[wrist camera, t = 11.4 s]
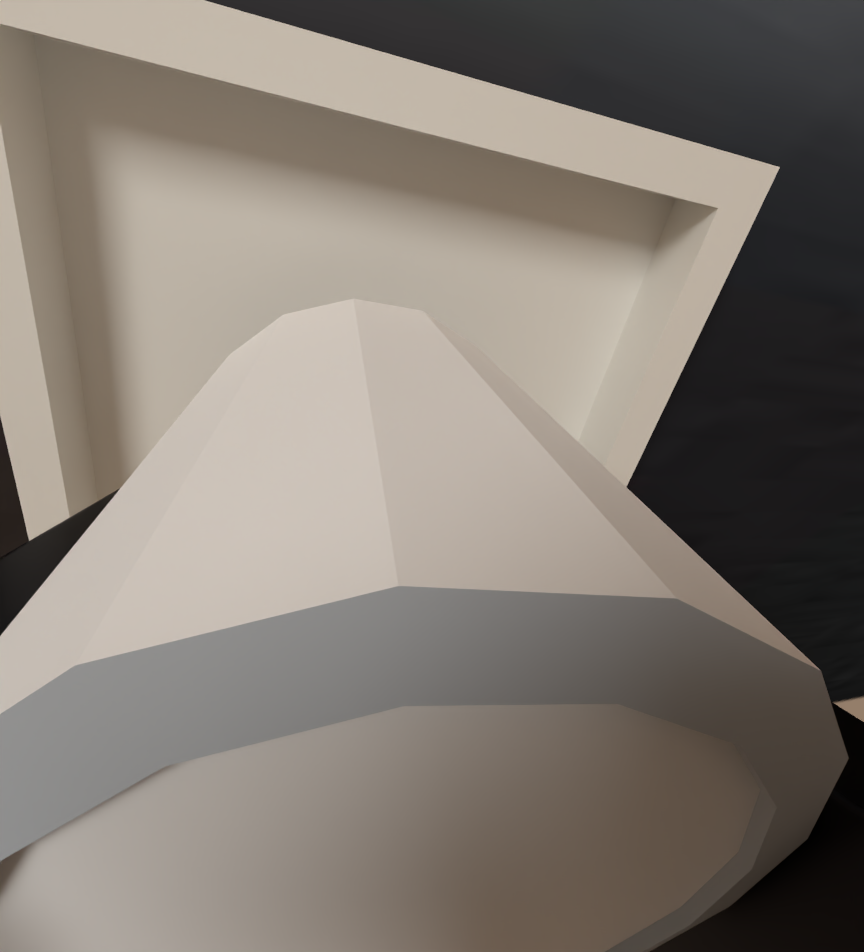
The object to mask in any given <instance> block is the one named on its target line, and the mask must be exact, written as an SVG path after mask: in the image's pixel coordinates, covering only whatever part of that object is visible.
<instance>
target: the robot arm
mask: <svg viewBox="0 0 864 952" xmlns="http://www.w3.org/2000/svg"><path fill="white" fill-rule="evenodd" d="M119 490H120V488H119V489H117V490H116V491H114V492H112V493H111V494H109V495H107V496H105V497H104V498H102V499H100V500H99V501H97V502H95V503H93V504H92V505H90V506H88V507H87V508H85V509H83V510H81V511H80V512H78V513H76V514H75V515H73V516H71V517H69V518H68V519H66V520H64V521H63V522H61V523H59V524H57V525H56V526H54V527H52V528H51V529H49V530H47V531H45V532H44V533H42V534H40V535H39V536H37V537H35V538H33V539H32V540H30V541H28V542H27V543H25V544H23V545H21V546H20V547H18V548H16V549H15V550H13V551H11V552H9V553H8V554H6V555H4V556H3V557H1V558H0V636H1V634H2V633H3V632H4V631H5V630H6V628H7V627H8V626H9V625H10V623H11V622H12V621H13V620H14V618H15V617H16V616H17V615H18V614H19V612H20V611H21V610H22V609H23V607H24V606H25V605H26V604H27V603H28V601H29V600H30V599H31V598H32V596H33V595H34V594H35V593H36V591H37V590H38V589H39V588H40V587H41V585H42V584H43V583H44V582H45V580H46V579H47V578H48V577H49V575H50V574H51V573H52V572H53V571H54V569H55V568H56V567H57V566H58V564H59V563H60V562H61V561H62V560H63V558H64V557H65V556H66V555H67V553H68V552H69V551H70V550H71V548H72V547H73V546H74V545H75V544H76V542H77V541H78V540H79V539H80V537H81V536H82V535H83V534H84V533H85V531H86V530H87V529H88V528H89V526H90V525H91V524H92V523H93V521H94V520H95V519H96V518H97V517H98V515H99V514H100V513H101V512H102V510H103V509H104V508H105V507H106V506H107V504H108V503H109V502H110V501H111V499H112V498H113V497H114V496H115V494H116V493H117V492H118V491H119ZM831 704H832V707H833V711H834V714H835V717H836V720H837V723H838V726H839V729H840V732H841V736H842V739H843V742H844V745H845V748H846V751H847V754H848V758H849V759H848V761H847V763H846V765H845V767H844V769H843V771H842V773H841V775H840V777H839V779H838V780H837V782H836V784H835V786H834V788H833V790H832V792H831V794H830V796H829V798H828V800H827V802H826V804H825V806H824V808H823V810H822V812H821V814H820V816H819V818H818V819H817V821H816V823H815V825H814V827H813V829H812V831H811V833H810V835H809V837H808V839H807V840H806V841H805V842H803V843H802V844H801V845H800V846H799V847H798V848H797V849H795V850H794V851H793V852H792V853H791V854H790V855H788V856H787V857H786V858H785V859H784V860H783V861H782V862H780V863H779V864H778V865H777V866H776V867H775V868H774V869H772V870H771V871H770V872H769V873H768V874H767V875H765V876H764V877H763V878H762V879H761V880H760V881H759V882H757V883H756V884H755V885H754V886H753V887H752V888H751V889H749V890H748V891H747V892H746V893H745V894H744V895H742V896H741V897H740V898H739V899H738V900H737V901H736V902H734V903H733V904H732V905H731V906H730V907H728V908H726V909H724V910H723V911H721V912H719V913H717V914H715V915H714V916H712V917H710V918H708V919H706V920H705V921H703V922H701V923H699V924H698V925H696V926H694V927H692V928H690V929H689V930H687V931H685V932H683V933H682V934H680V935H678V936H676V937H674V938H673V939H671V940H669V941H667V942H666V943H664V944H662V945H660V946H658V947H657V948H655V949H653V950H651V951H650V952H864V722H863V721H861V720H859V719H858V718H856V717H855V716H853V715H851V714H850V713H848V712H846V711H845V710H843V709H842V708H840V707H838V706H837V705H835V704H834V703H832V702H831Z"/></svg>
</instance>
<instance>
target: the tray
mask: <svg viewBox="0 0 864 952" xmlns="http://www.w3.org/2000/svg"><path fill="white" fill-rule="evenodd" d="M779 168H780V167H777V166H774V165H770V164H767V163H763V162H760V161H756V160H753V159H750V158H746V157H743V156H739V155H736V154H732V153H729V152H725V151H722V150H718V149H715V148H712V147H708V146H705V145H701V144H698V143H694V142H691V141H687V140H684V139H681V138H677V137H674V136H670V135H667V134H663V133H660V132H656V131H653V130H649V129H646V128H643V127H639V126H636V125H632V124H629V123H625V122H622V121H618V120H615V119H612V118H608V117H605V116H601V115H598V114H594V113H591V112H587V111H584V110H580V109H577V108H574V107H570V106H567V105H563V104H560V103H556V102H553V101H549V100H546V99H543V98H539V97H536V96H532V95H529V94H525V93H522V92H518V91H515V90H512V89H508V88H505V87H501V86H498V85H494V84H491V83H487V82H484V81H480V80H477V79H474V78H470V77H467V76H463V75H460V74H456V73H453V72H449V71H446V70H443V69H439V68H436V67H432V66H429V65H425V64H422V63H418V62H415V61H411V60H408V59H405V58H401V57H398V56H394V55H391V54H387V53H384V52H380V51H377V50H374V49H370V48H367V47H363V46H360V45H356V44H353V43H349V42H346V41H342V40H339V39H336V38H332V37H329V36H325V35H322V34H318V33H315V32H311V31H308V30H305V29H301V28H298V27H294V26H291V25H287V24H284V23H280V22H277V21H273V20H270V19H267V18H263V17H260V16H256V15H253V14H249V13H246V12H242V11H239V10H236V9H232V8H229V7H225V6H222V5H218V4H215V3H211V2H208V1H204V0H0V416H1V420H2V425H3V429H4V433H5V438H6V442H7V446H8V451H9V455H10V459H11V464H12V468H13V472H14V477H15V481H16V485H17V490H18V494H19V498H20V503H21V507H22V511H23V516H24V520H25V524H26V529H27V533H28V537H29V541H30V540H32V539H33V538H35V537H37V536H39V535H40V534H42V533H44V532H45V531H47V530H49V529H51V528H52V527H54V526H56V525H57V524H59V523H61V522H63V521H64V520H66V519H68V518H69V517H71V516H73V515H75V514H76V513H78V512H80V511H81V510H83V509H85V508H87V507H88V506H90V505H92V504H93V503H95V502H97V501H99V500H100V499H102V498H104V497H105V496H107V495H109V494H111V493H112V492H114V491H116V490H117V489H119V488H121V487H122V486H123V485H124V483H125V482H126V481H127V480H128V478H129V477H130V476H131V475H132V474H133V472H134V471H135V470H136V469H137V467H138V466H139V465H140V464H141V463H142V461H143V460H144V459H145V458H146V456H147V455H148V454H149V453H150V451H151V450H152V449H153V448H154V447H155V445H156V444H157V443H158V442H159V440H160V439H161V438H162V437H163V436H164V434H165V433H166V432H167V431H168V429H169V428H170V427H171V426H172V424H173V423H174V422H175V421H176V420H177V418H178V417H179V416H180V415H181V413H182V412H183V411H184V410H185V409H186V407H187V406H188V405H189V404H190V402H191V401H192V400H193V399H194V397H195V396H196V395H197V394H198V393H199V391H200V390H201V389H202V388H203V386H204V385H205V384H206V383H207V381H208V380H209V379H210V378H211V377H212V375H213V374H214V373H215V372H216V370H217V369H218V368H219V367H220V366H221V364H222V363H223V362H224V361H225V359H226V358H227V357H228V356H229V355H230V354H231V353H232V352H234V351H235V350H236V349H238V348H239V347H240V346H242V345H243V344H245V343H246V342H247V341H249V340H250V339H251V338H253V337H254V336H255V335H257V334H258V333H259V332H261V331H262V330H263V329H265V328H266V327H267V326H269V325H270V324H271V323H273V322H274V321H275V320H277V319H278V318H279V317H281V316H282V315H283V314H288V313H292V312H296V311H301V310H305V309H310V308H314V307H318V306H323V305H327V304H331V303H336V302H340V301H345V300H349V299H359V300H365V301H370V302H376V303H382V304H387V305H393V306H399V307H405V308H410V309H416V310H422V311H424V312H425V313H427V314H428V315H430V316H431V317H433V318H434V319H436V320H437V321H439V322H441V323H442V324H444V325H445V326H447V327H448V328H450V329H451V330H453V331H454V332H456V333H457V334H459V335H460V336H462V337H463V338H465V339H466V340H468V341H470V342H471V343H473V344H474V345H476V346H477V347H478V348H479V349H480V350H481V351H482V352H483V353H484V354H485V355H486V356H487V357H489V358H490V359H491V360H492V361H493V362H494V363H495V364H496V365H497V366H498V367H499V368H500V369H501V370H502V371H503V372H504V373H505V374H507V375H508V376H509V377H510V378H511V379H512V380H513V381H514V382H515V383H516V384H517V385H518V386H519V387H520V388H521V389H522V390H524V391H525V392H526V393H527V394H528V395H529V396H530V397H531V398H532V399H533V400H534V401H535V402H536V403H537V404H538V405H539V406H540V407H542V408H543V409H544V410H545V411H546V412H547V413H548V414H549V415H550V416H551V417H552V418H553V419H554V420H555V421H556V422H557V423H559V424H560V425H561V426H562V427H563V428H564V429H565V430H566V431H567V432H568V433H569V434H570V435H571V436H572V437H573V438H574V439H575V440H577V441H578V442H579V443H580V444H581V445H582V446H583V447H584V448H585V449H586V450H587V451H588V452H589V453H590V454H591V455H592V456H594V457H595V458H596V459H597V460H598V461H599V462H600V463H601V464H602V465H603V466H604V467H605V468H606V469H607V470H608V471H609V472H610V473H612V474H613V475H614V476H615V477H616V478H617V479H618V480H619V481H620V482H621V483H622V484H623V485H624V486H625V487H627V485H628V483H629V480H630V478H631V476H632V474H633V472H634V470H635V468H636V466H637V464H638V462H639V460H640V458H641V455H642V453H643V451H644V449H645V447H646V445H647V443H648V441H649V439H650V437H651V435H652V433H653V430H654V428H655V426H656V424H657V422H658V420H659V418H660V416H661V414H662V412H663V410H664V407H665V405H666V403H667V401H668V399H669V397H670V395H671V393H672V391H673V389H674V387H675V385H676V382H677V380H678V378H679V376H680V374H681V372H682V370H683V368H684V366H685V364H686V362H687V360H688V357H689V355H690V353H691V351H692V349H693V347H694V345H695V343H696V341H697V339H698V337H699V335H700V332H701V330H702V328H703V326H704V324H705V322H706V320H707V318H708V316H709V314H710V312H711V310H712V307H713V305H714V303H715V301H716V299H717V297H718V295H719V293H720V291H721V289H722V287H723V285H724V282H725V280H726V278H727V276H728V274H729V272H730V270H731V268H732V266H733V264H734V262H735V260H736V257H737V255H738V253H739V251H740V249H741V247H742V245H743V243H744V241H745V239H746V237H747V235H748V232H749V230H750V228H751V226H752V224H753V222H754V220H755V218H756V216H757V214H758V212H759V210H760V207H761V205H762V203H763V201H764V199H765V197H766V195H767V193H768V191H769V189H770V187H771V185H772V182H773V180H774V178H775V176H776V174H777V172H778V170H779Z"/></svg>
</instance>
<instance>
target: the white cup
mask: <svg viewBox="0 0 864 952" xmlns="http://www.w3.org/2000/svg"><path fill="white" fill-rule="evenodd" d="M848 759H849V758H848V754H847V751H846V748H845V745H844V742H843V739H842V736H841V732H840V729H839V726H838V723H837V720H836V717H835V714H834V711H833V707H832V704H831V701H830V698H829V695H828V692H827V689H826V686H825V682H824V679H823V676H822V673H821V671H820V670H819V669H818V668H817V667H816V666H815V665H814V664H813V663H812V662H811V661H810V660H809V659H808V658H807V657H806V656H805V655H804V654H802V653H801V652H800V651H799V650H798V649H797V648H796V647H795V646H794V645H793V644H792V643H791V642H790V641H789V640H788V639H787V638H785V637H784V636H783V635H782V634H781V633H780V632H779V631H778V630H777V629H776V628H775V627H774V626H773V625H772V624H771V623H770V622H769V621H767V620H766V619H765V618H764V617H763V616H762V615H761V614H760V613H759V612H758V611H757V610H756V609H755V608H754V607H753V606H752V605H750V604H749V603H748V602H747V601H746V600H745V599H744V598H743V597H742V596H741V595H740V594H739V593H738V592H737V591H736V590H735V589H734V588H732V587H731V586H730V585H729V584H728V583H727V582H726V581H725V580H724V579H723V578H722V577H721V576H720V575H719V574H718V573H717V572H715V571H714V570H713V569H712V568H711V567H710V566H709V565H708V564H707V563H706V562H705V561H704V560H703V559H702V558H701V557H700V556H699V555H697V554H696V553H695V552H694V551H693V550H692V549H691V548H690V547H689V546H688V545H687V544H686V543H685V542H684V541H683V540H682V539H680V538H679V537H678V536H677V535H676V534H675V533H674V532H673V531H672V530H671V529H670V528H669V527H668V526H667V525H666V524H665V523H664V522H662V521H661V520H660V519H659V518H658V517H657V516H656V515H655V514H654V513H653V512H652V511H651V510H650V509H649V508H648V507H647V506H645V505H644V504H643V503H642V502H641V501H640V500H639V499H638V498H637V497H636V496H635V495H634V494H633V493H632V492H631V491H630V490H629V489H627V488H626V487H625V486H624V485H623V484H622V483H621V482H620V481H619V480H618V479H617V478H616V477H615V476H614V475H613V474H612V473H610V472H609V471H608V470H607V469H606V468H605V467H604V466H603V465H602V464H601V463H600V462H599V461H598V460H597V459H596V458H595V457H594V456H592V455H591V454H590V453H589V452H588V451H587V450H586V449H585V448H584V447H583V446H582V445H581V444H580V443H579V442H578V441H577V440H575V439H574V438H573V437H572V436H571V435H570V434H569V433H568V432H567V431H566V430H565V429H564V428H563V427H562V426H561V425H560V424H559V423H557V422H556V421H555V420H554V419H553V418H552V417H551V416H550V415H549V414H548V413H547V412H546V411H545V410H544V409H543V408H542V407H540V406H539V405H538V404H537V403H536V402H535V401H534V400H533V399H532V398H531V397H530V396H529V395H528V394H527V393H526V392H525V391H524V390H522V389H521V388H520V387H519V386H518V385H517V384H516V383H515V382H514V381H513V380H512V379H511V378H510V377H509V376H508V375H507V374H505V373H504V372H503V371H502V370H501V369H500V368H499V367H498V366H497V365H496V364H495V363H494V362H493V361H492V360H491V359H490V358H489V357H487V356H486V355H485V354H484V353H483V352H482V351H481V350H480V349H479V348H478V347H477V346H476V345H474V344H473V343H471V342H470V341H468V340H466V339H465V338H463V337H462V336H460V335H459V334H457V333H456V332H454V331H453V330H451V329H450V328H448V327H447V326H445V325H444V324H442V323H441V322H439V321H437V320H436V319H434V318H433V317H431V316H430V315H428V314H427V313H425V312H424V311H422V310H416V309H410V308H405V307H399V306H393V305H387V304H382V303H376V302H370V301H365V300H359V299H349V300H345V301H340V302H336V303H331V304H327V305H323V306H318V307H314V308H310V309H305V310H301V311H296V312H292V313H288V314H283V315H282V316H281V317H279V318H278V319H277V320H275V321H274V322H273V323H271V324H270V325H269V326H267V327H266V328H265V329H263V330H262V331H261V332H259V333H258V334H257V335H255V336H254V337H253V338H251V339H250V340H249V341H247V342H246V343H245V344H243V345H242V346H240V347H239V348H238V349H236V350H235V351H234V352H232V353H231V354H230V355H229V356H228V357H227V358H226V359H225V361H224V362H223V363H222V364H221V366H220V367H219V368H218V369H217V370H216V372H215V373H214V374H213V375H212V377H211V378H210V379H209V380H208V381H207V383H206V384H205V385H204V386H203V388H202V389H201V390H200V391H199V393H198V394H197V395H196V396H195V397H194V399H193V400H192V401H191V402H190V404H189V405H188V406H187V407H186V409H185V410H184V411H183V412H182V413H181V415H180V416H179V417H178V418H177V420H176V421H175V422H174V423H173V424H172V426H171V427H170V428H169V429H168V431H167V432H166V433H165V434H164V436H163V437H162V438H161V439H160V440H159V442H158V443H157V444H156V445H155V447H154V448H153V449H152V450H151V451H150V453H149V454H148V455H147V456H146V458H145V459H144V460H143V461H142V463H141V464H140V465H139V466H138V467H137V469H136V470H135V471H134V472H133V474H132V475H131V476H130V477H129V478H128V480H127V481H126V482H125V483H124V485H123V486H122V487H121V488H120V490H119V491H118V492H117V493H116V494H115V496H114V497H113V498H112V499H111V501H110V502H109V503H108V504H107V506H106V507H105V508H104V509H103V510H102V512H101V513H100V514H99V515H98V517H97V518H96V519H95V520H94V521H93V523H92V524H91V525H90V526H89V528H88V529H87V530H86V531H85V533H84V534H83V535H82V536H81V537H80V539H79V540H78V541H77V542H76V544H75V545H74V546H73V547H72V548H71V550H70V551H69V552H68V553H67V555H66V556H65V557H64V558H63V560H62V561H61V562H60V563H59V564H58V566H57V567H56V568H55V569H54V571H53V572H52V573H51V574H50V575H49V577H48V578H47V579H46V580H45V582H44V583H43V584H42V585H41V587H40V588H39V589H38V590H37V591H36V593H35V594H34V595H33V596H32V598H31V599H30V600H29V601H28V603H27V604H26V605H25V606H24V607H23V609H22V610H21V611H20V612H19V614H18V615H17V616H16V617H15V618H14V620H13V621H12V622H11V623H10V625H9V626H8V627H7V628H6V630H5V631H4V632H3V633H2V634H1V636H0V952H650V951H651V950H653V949H655V948H657V947H658V946H660V945H662V944H664V943H666V942H667V941H669V940H671V939H673V938H674V937H676V936H678V935H680V934H682V933H683V932H685V931H687V930H689V929H690V928H692V927H694V926H696V925H698V924H699V923H701V922H703V921H705V920H706V919H708V918H710V917H712V916H714V915H715V914H717V913H719V912H721V911H723V910H724V909H726V908H728V907H730V906H731V905H732V904H733V903H734V902H736V901H737V900H738V899H739V898H740V897H741V896H742V895H744V894H745V893H746V892H747V891H748V890H749V889H751V888H752V887H753V886H754V885H755V884H756V883H757V882H759V881H760V880H761V879H762V878H763V877H764V876H765V875H767V874H768V873H769V872H770V871H771V870H772V869H774V868H775V867H776V866H777V865H778V864H779V863H780V862H782V861H783V860H784V859H785V858H786V857H787V856H788V855H790V854H791V853H792V852H793V851H794V850H795V849H797V848H798V847H799V846H800V845H801V844H802V843H803V842H805V841H806V840H807V839H808V837H809V835H810V833H811V831H812V829H813V827H814V825H815V823H816V821H817V819H818V818H819V816H820V814H821V812H822V810H823V808H824V806H825V804H826V802H827V800H828V798H829V796H830V794H831V792H832V790H833V788H834V786H835V784H836V782H837V780H838V779H839V777H840V775H841V773H842V771H843V769H844V767H845V765H846V763H847V761H848Z"/></svg>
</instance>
